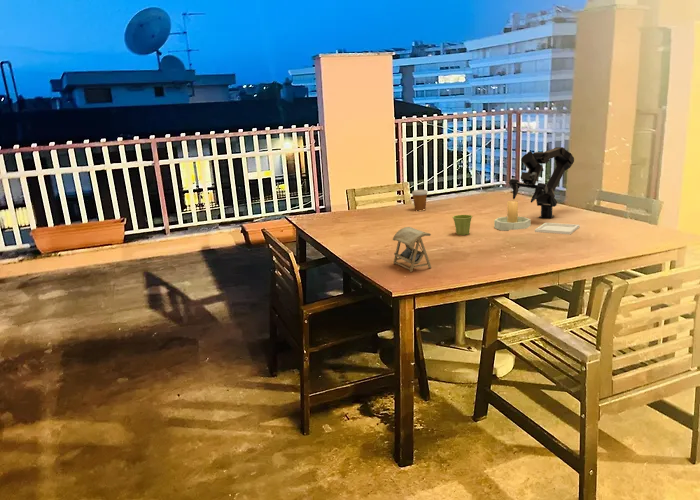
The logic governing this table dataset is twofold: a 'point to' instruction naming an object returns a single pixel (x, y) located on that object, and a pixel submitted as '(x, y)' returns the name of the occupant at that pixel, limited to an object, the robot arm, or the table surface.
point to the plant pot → (462, 224)
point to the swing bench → (411, 247)
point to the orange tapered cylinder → (512, 211)
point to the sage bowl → (511, 224)
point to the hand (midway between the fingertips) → (522, 200)
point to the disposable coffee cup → (419, 199)
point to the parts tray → (557, 228)
